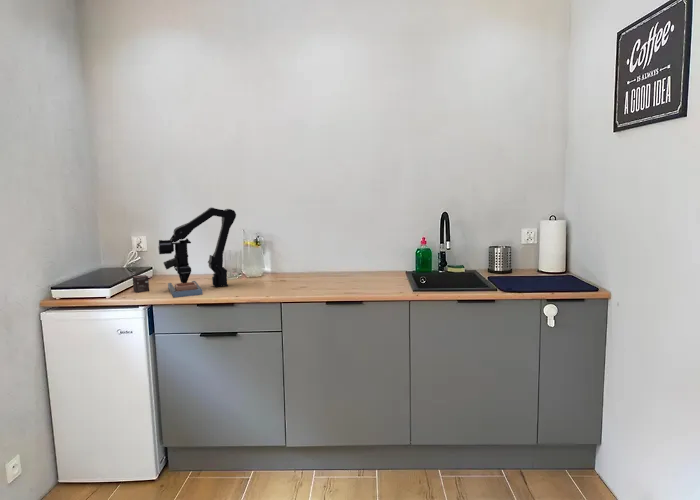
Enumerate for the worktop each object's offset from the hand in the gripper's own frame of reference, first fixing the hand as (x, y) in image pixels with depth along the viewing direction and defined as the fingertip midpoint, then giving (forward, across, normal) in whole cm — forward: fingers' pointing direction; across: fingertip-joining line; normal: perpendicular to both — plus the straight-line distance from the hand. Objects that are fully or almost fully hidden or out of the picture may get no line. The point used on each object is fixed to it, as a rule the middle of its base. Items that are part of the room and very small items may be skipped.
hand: (183, 284), depth 253 cm
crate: (+2, +10, 0) cm, 10 cm away
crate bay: (+2, +5, 0) cm, 6 cm away
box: (+3, -6, -19) cm, 20 cm away
